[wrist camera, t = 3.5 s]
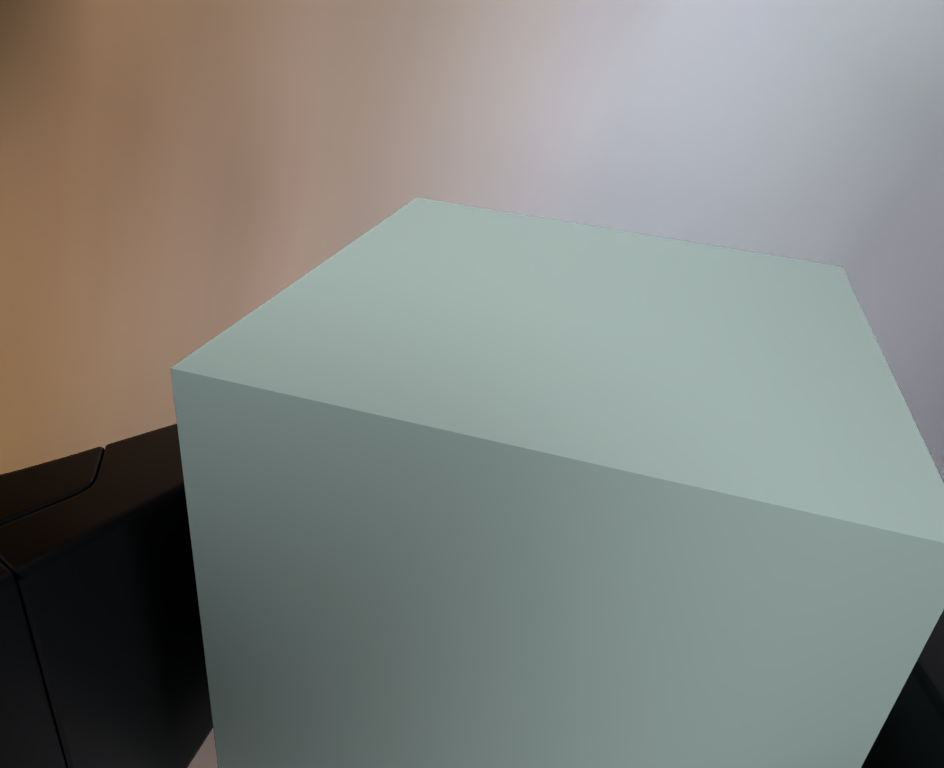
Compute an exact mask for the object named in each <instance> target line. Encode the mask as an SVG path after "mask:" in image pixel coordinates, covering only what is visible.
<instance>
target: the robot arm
mask: <svg viewBox="0 0 944 768" xmlns="http://www.w3.org/2000/svg"><path fill="white" fill-rule="evenodd" d="M212 728H213V720H212V712H211V704H210V695H209V687H208V678H207V670H206V662H205V653H204V645H203V637H202V628H201V620H200V611H199V603H198V595H197V586H196V578H195V570H194V561H193V553H192V544H191V536H190V528H189V519H188V511H187V503H186V494H185V486H184V478H183V469H182V461H181V452H180V444H179V436H178V427H177V424H174V425H171V426H167V427H164V428H161V429H157V430H154V431H151V432H147V433H144V434H141V435H137V436H134V437H131V438H127V439H124V440H121V441H117V442H114V443H111V444H108V445H106V447H105V450H104V448H103V447H97V448H93V449H90V450H87V451H84V452H80V453H77V454H74V455H70V456H67V457H63V458H60V459H56V460H53V461H49V462H46V463H42V464H39V465H35V466H32V467H28V468H25V469H21V470H17V471H13V472H9V473H5V474H1V475H0V768H188V766H189V764H190V763H191V761H192V760H193V758H194V757H195V755H196V753H197V752H198V750H199V749H200V747H201V746H202V744H203V743H204V741H205V739H206V738H207V736H208V735H209V733H210V732H211V730H212ZM861 768H944V610H943V612H942V614H941V616H940V617H939V619H938V621H937V623H936V625H935V627H934V629H933V631H932V633H931V635H930V637H929V638H928V640H927V642H926V644H925V646H924V648H923V650H922V652H921V654H920V656H919V658H918V660H917V661H916V663H915V665H914V667H913V669H912V671H911V673H910V675H909V677H908V679H907V681H906V682H905V684H904V686H903V688H902V690H901V692H900V694H899V696H898V698H897V700H896V702H895V704H894V705H893V707H892V709H891V711H890V713H889V715H888V717H887V719H886V721H885V723H884V725H883V726H882V728H881V730H880V732H879V734H878V736H877V738H876V740H875V742H874V744H873V746H872V748H871V749H870V751H869V753H868V755H867V757H866V759H865V761H864V763H863V765H862V767H861Z"/></svg>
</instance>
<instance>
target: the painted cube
mask: <svg viewBox="0 0 944 768" xmlns="http://www.w3.org/2000/svg"><path fill="white" fill-rule="evenodd" d="M170 369H171V377H172V385H173V394H174V402H175V411H176V419H177V427H178V436H179V444H180V452H181V461H182V469H183V478H184V486H185V494H186V503H187V511H188V519H189V528H190V536H191V544H192V553H193V561H194V570H195V578H196V586H197V595H198V603H199V611H200V620H201V628H202V637H203V645H204V653H205V662H206V670H207V678H208V687H209V695H210V704H211V712H212V720H213V729H214V737H215V745H216V754H217V762H218V768H861V767H862V765H863V763H864V761H865V759H866V757H867V755H868V753H869V751H870V749H871V748H872V746H873V744H874V742H875V740H876V738H877V736H878V734H879V732H880V730H881V728H882V726H883V725H884V723H885V721H886V719H887V717H888V715H889V713H890V711H891V709H892V707H893V705H894V704H895V702H896V700H897V698H898V696H899V694H900V692H901V690H902V688H903V686H904V684H905V682H906V681H907V679H908V677H909V675H910V673H911V671H912V669H913V667H914V665H915V663H916V661H917V660H918V658H919V656H920V654H921V652H922V650H923V648H924V646H925V644H926V642H927V640H928V638H929V637H930V635H931V633H932V631H933V629H934V627H935V625H936V623H937V621H938V619H939V617H940V616H941V614H942V612H943V610H944V483H943V481H942V479H941V476H940V474H939V472H938V470H937V468H936V466H935V464H934V461H933V459H932V457H931V455H930V453H929V451H928V449H927V447H926V444H925V442H924V440H923V438H922V436H921V434H920V432H919V429H918V427H917V425H916V423H915V421H914V419H913V417H912V415H911V412H910V410H909V408H908V406H907V404H906V402H905V400H904V397H903V395H902V393H901V391H900V389H899V387H898V385H897V382H896V380H895V378H894V376H893V374H892V372H891V370H890V368H889V365H888V363H887V361H886V359H885V357H884V355H883V353H882V350H881V348H880V346H879V344H878V342H877V340H876V338H875V336H874V333H873V331H872V329H871V327H870V325H869V323H868V321H867V318H866V316H865V314H864V312H863V310H862V308H861V306H860V303H859V301H858V299H857V297H856V295H855V293H854V291H853V289H852V286H851V284H850V282H849V280H848V278H847V276H846V274H845V271H844V269H843V267H842V266H836V265H830V264H824V263H818V262H811V261H805V260H799V259H793V258H787V257H781V256H775V255H768V254H762V253H756V252H750V251H744V250H738V249H731V248H725V247H719V246H713V245H707V244H701V243H695V242H688V241H682V240H676V239H670V238H664V237H658V236H651V235H645V234H639V233H633V232H627V231H621V230H615V229H608V228H602V227H596V226H590V225H584V224H578V223H572V222H565V221H559V220H553V219H547V218H541V217H535V216H528V215H522V214H516V213H510V212H504V211H498V210H492V209H485V208H479V207H473V206H467V205H461V204H455V203H448V202H442V201H436V200H430V199H424V198H418V197H417V198H415V199H414V200H412V201H411V202H409V203H408V204H407V205H405V206H404V207H402V208H401V209H399V210H398V211H396V212H395V213H394V214H392V215H391V216H389V217H388V218H386V219H385V220H383V221H382V222H381V223H379V224H378V225H376V226H375V227H373V228H372V229H370V230H369V231H368V232H366V233H365V234H363V235H362V236H360V237H359V238H357V239H356V240H355V241H353V242H352V243H350V244H349V245H347V246H346V247H344V248H343V249H342V250H340V251H339V252H337V253H336V254H334V255H333V256H331V257H330V258H329V259H327V260H326V261H324V262H323V263H321V264H320V265H319V266H317V267H316V268H314V269H313V270H311V271H310V272H308V273H307V274H306V275H304V276H303V277H301V278H300V279H298V280H297V281H295V282H294V283H293V284H291V285H290V286H288V287H287V288H285V289H284V290H282V291H281V292H280V293H278V294H277V295H275V296H274V297H272V298H271V299H269V300H268V301H267V302H265V303H264V304H262V305H261V306H259V307H258V308H256V309H255V310H254V311H252V312H251V313H249V314H248V315H246V316H245V317H243V318H242V319H241V320H239V321H238V322H236V323H235V324H233V325H232V326H230V327H229V328H228V329H226V330H225V331H223V332H222V333H220V334H219V335H217V336H216V337H215V338H213V339H212V340H210V341H209V342H207V343H206V344H204V345H203V346H202V347H200V348H199V349H197V350H196V351H194V352H193V353H191V354H190V355H189V356H187V357H186V358H184V359H183V360H181V361H180V362H178V363H177V364H176V365H174V366H173V367H171V368H170Z"/></svg>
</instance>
